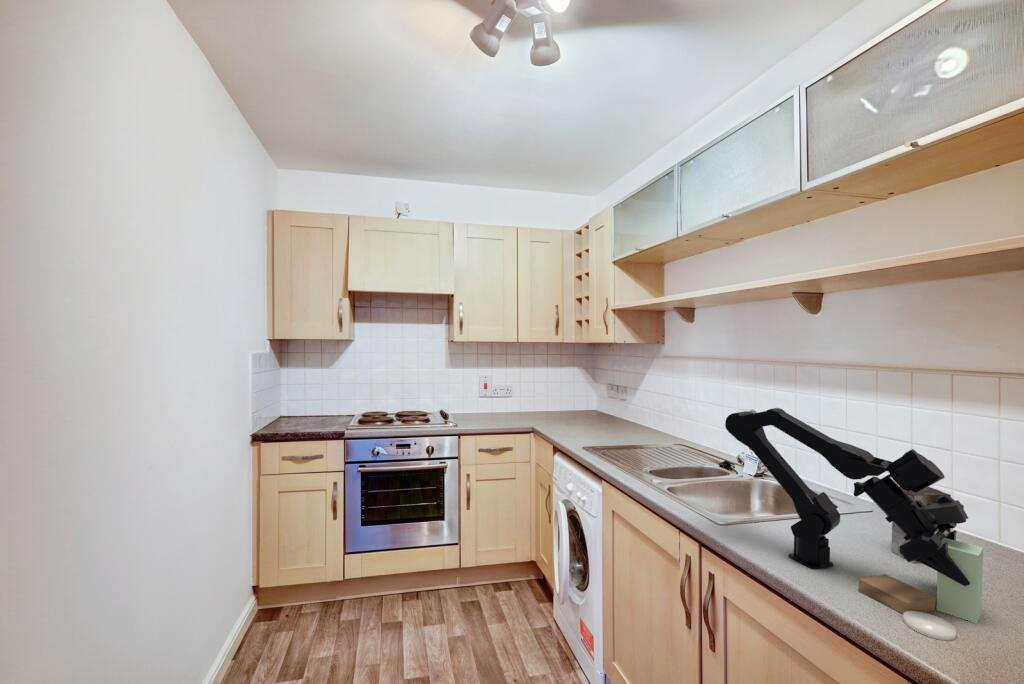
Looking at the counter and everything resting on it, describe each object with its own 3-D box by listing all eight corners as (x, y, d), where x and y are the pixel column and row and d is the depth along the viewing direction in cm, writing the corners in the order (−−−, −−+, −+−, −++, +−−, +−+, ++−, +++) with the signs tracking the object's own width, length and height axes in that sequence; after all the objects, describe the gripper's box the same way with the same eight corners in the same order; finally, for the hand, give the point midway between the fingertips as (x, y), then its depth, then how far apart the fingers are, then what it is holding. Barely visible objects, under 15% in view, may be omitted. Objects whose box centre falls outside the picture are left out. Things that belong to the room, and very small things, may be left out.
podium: (858, 590, 94) (858, 578, 94) (884, 585, 97) (885, 574, 97) (907, 616, 86) (907, 603, 86) (935, 610, 88) (935, 597, 88)
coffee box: (925, 551, 114) (927, 485, 114) (951, 563, 107) (952, 494, 107) (889, 551, 113) (891, 485, 113) (913, 563, 107) (914, 494, 107)
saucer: (893, 619, 85) (893, 613, 85) (920, 613, 87) (920, 608, 87) (938, 643, 78) (938, 637, 78) (966, 636, 80) (966, 630, 80)
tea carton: (936, 610, 88) (938, 544, 88) (942, 600, 92) (943, 537, 92) (977, 624, 84) (978, 555, 84) (981, 613, 87) (983, 547, 87)
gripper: (923, 492, 85) (1010, 577, 76) (943, 475, 96) (1020, 547, 88) (869, 522, 91) (944, 603, 82) (894, 502, 103) (962, 572, 94)
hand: (970, 580), depth 87 cm, fingers closed on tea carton, 5 cm apart
